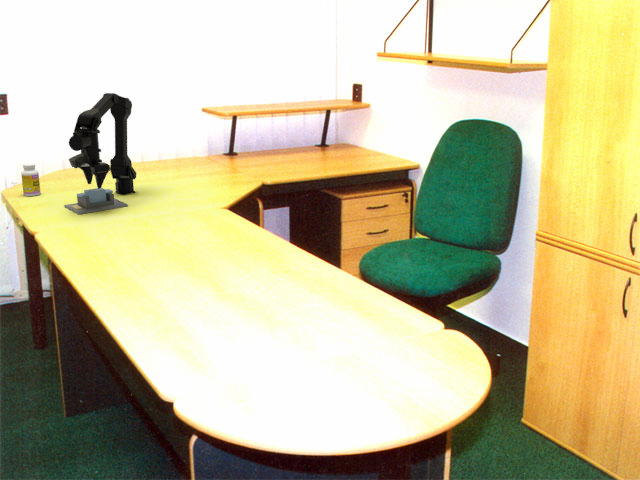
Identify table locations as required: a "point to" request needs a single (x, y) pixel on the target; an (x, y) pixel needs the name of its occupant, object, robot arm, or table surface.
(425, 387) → the table surface
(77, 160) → the robot arm
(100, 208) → the chassis plate
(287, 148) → the table surface
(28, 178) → the supplement bottle
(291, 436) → the table surface
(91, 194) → the block
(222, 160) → the table surface
